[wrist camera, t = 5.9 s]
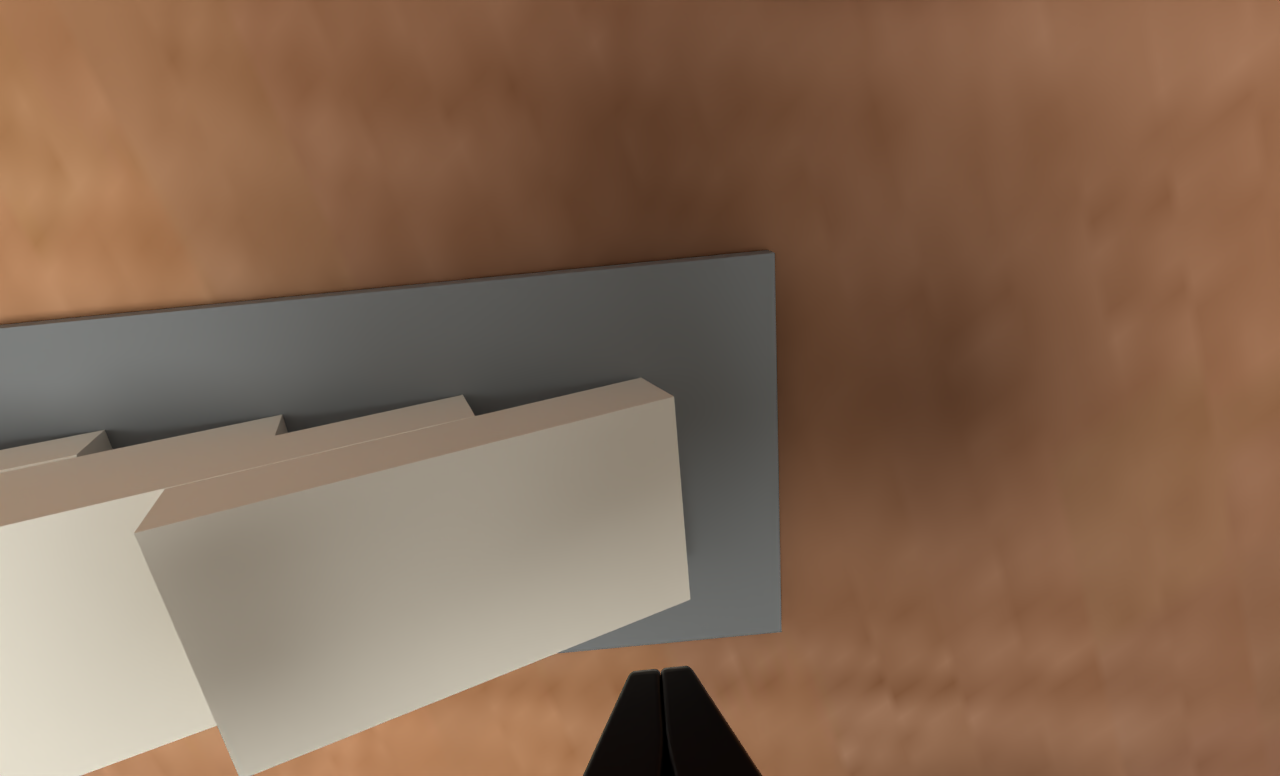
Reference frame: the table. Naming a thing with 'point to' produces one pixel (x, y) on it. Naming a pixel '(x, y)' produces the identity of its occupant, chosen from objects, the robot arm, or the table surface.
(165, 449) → the domino
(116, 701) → the domino
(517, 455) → the domino
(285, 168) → the table surface
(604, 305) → the mat
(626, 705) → the robot arm
